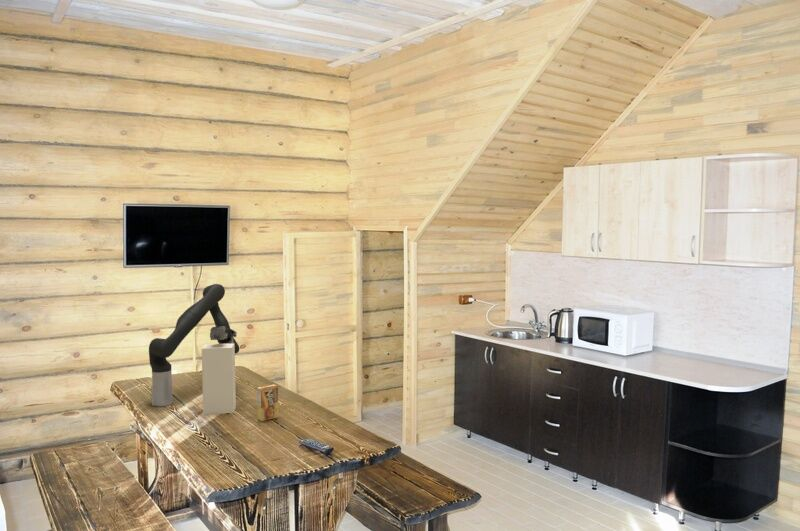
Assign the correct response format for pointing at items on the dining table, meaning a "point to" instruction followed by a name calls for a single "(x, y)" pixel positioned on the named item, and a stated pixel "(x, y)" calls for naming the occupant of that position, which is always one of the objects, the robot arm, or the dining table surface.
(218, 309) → the robot arm
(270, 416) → the candy box
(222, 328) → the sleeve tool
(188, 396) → the dining table surface
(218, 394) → the tall beige cuboid
